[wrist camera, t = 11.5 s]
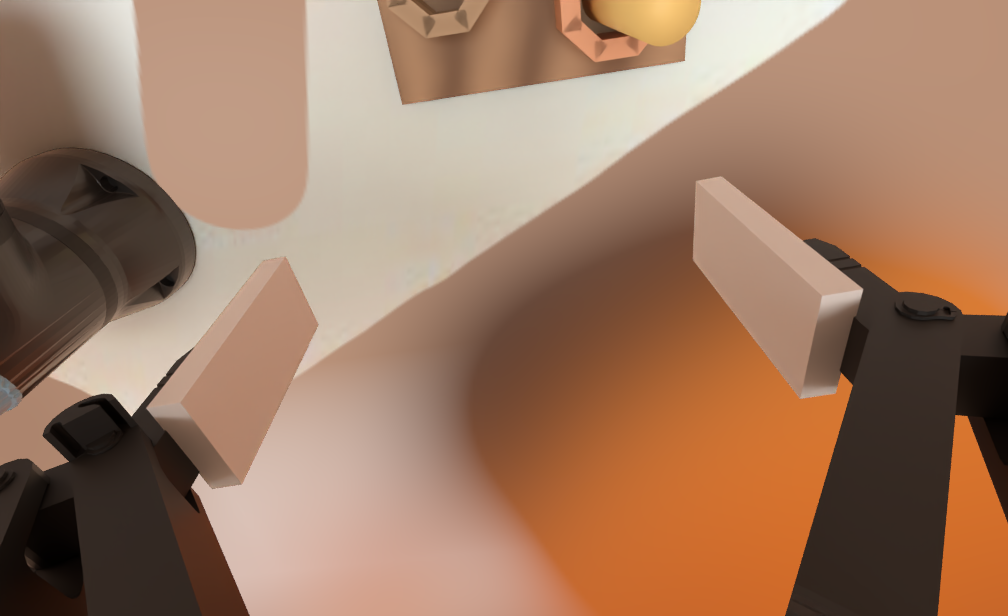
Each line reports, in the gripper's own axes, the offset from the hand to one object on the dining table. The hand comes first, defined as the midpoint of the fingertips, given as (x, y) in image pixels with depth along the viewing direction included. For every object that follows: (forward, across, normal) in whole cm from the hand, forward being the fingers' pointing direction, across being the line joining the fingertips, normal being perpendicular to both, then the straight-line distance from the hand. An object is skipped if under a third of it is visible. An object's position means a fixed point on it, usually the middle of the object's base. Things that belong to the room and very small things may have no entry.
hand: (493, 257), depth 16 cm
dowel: (+27, +10, +5) cm, 29 cm away
